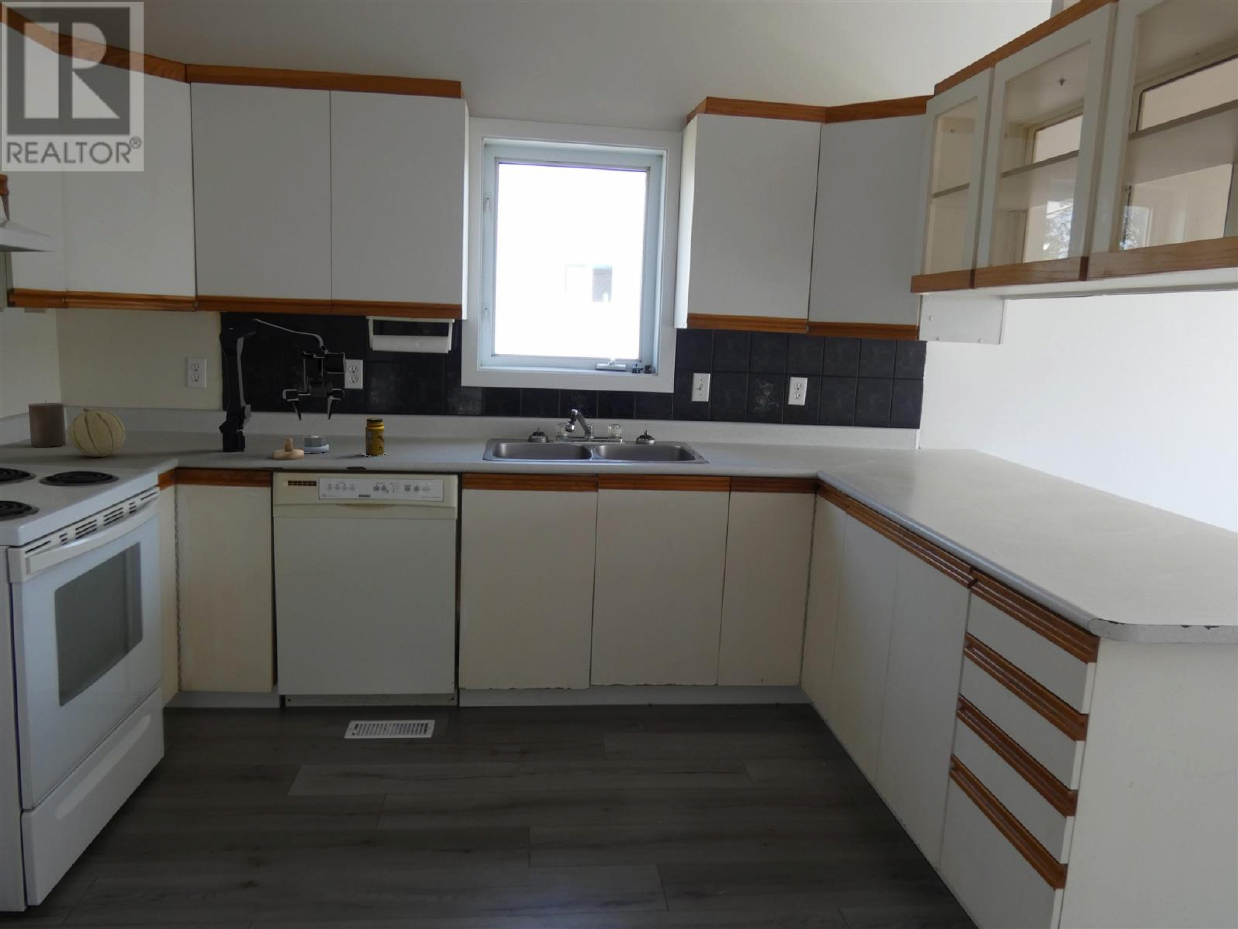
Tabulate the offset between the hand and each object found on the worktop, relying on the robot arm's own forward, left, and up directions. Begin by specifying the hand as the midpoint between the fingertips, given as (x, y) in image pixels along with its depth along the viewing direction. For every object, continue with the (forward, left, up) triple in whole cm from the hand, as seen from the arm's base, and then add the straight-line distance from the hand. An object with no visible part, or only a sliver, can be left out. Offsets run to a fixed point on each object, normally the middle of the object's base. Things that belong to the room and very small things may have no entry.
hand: (314, 420), depth 292 cm
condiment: (+16, -12, -11) cm, 23 cm away
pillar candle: (-76, +38, -11) cm, 86 cm away
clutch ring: (0, 0, -9) cm, 9 cm away
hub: (0, 0, -11) cm, 11 cm away
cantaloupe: (-62, +9, -11) cm, 64 cm away
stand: (-10, -10, -11) cm, 18 cm away
